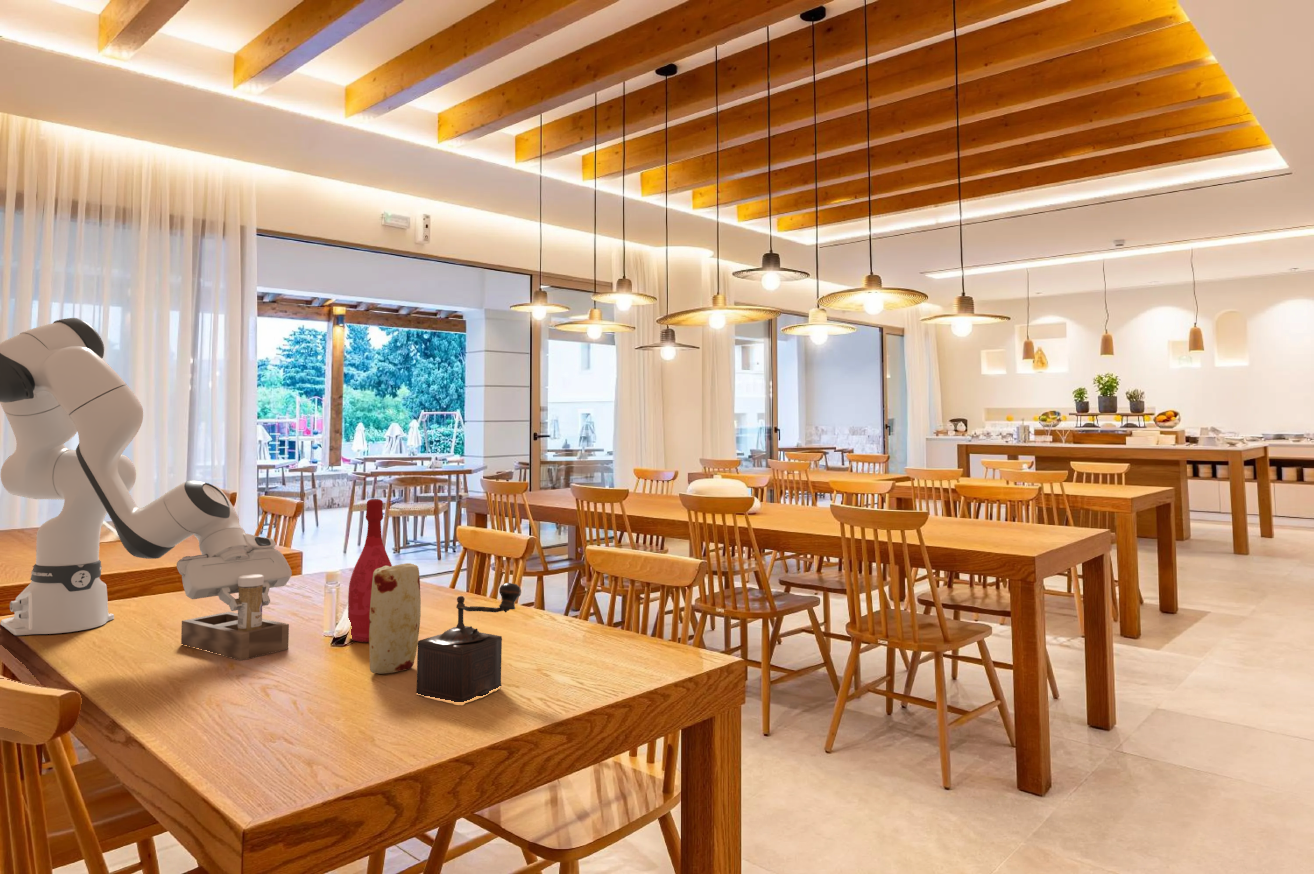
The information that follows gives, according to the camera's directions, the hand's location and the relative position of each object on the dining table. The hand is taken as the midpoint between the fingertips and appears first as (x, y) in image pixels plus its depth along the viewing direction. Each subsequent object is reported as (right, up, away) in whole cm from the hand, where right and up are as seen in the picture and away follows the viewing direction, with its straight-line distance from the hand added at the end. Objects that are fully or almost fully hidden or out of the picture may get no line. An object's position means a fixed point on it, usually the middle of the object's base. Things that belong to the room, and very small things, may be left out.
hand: (251, 606), depth 155 cm
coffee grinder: (+49, -10, -20) cm, 54 cm away
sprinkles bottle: (-1, -8, 0) cm, 8 cm away
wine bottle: (+19, -10, +12) cm, 25 cm away
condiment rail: (-5, -9, +3) cm, 11 cm away
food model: (+32, -10, -11) cm, 35 cm away
